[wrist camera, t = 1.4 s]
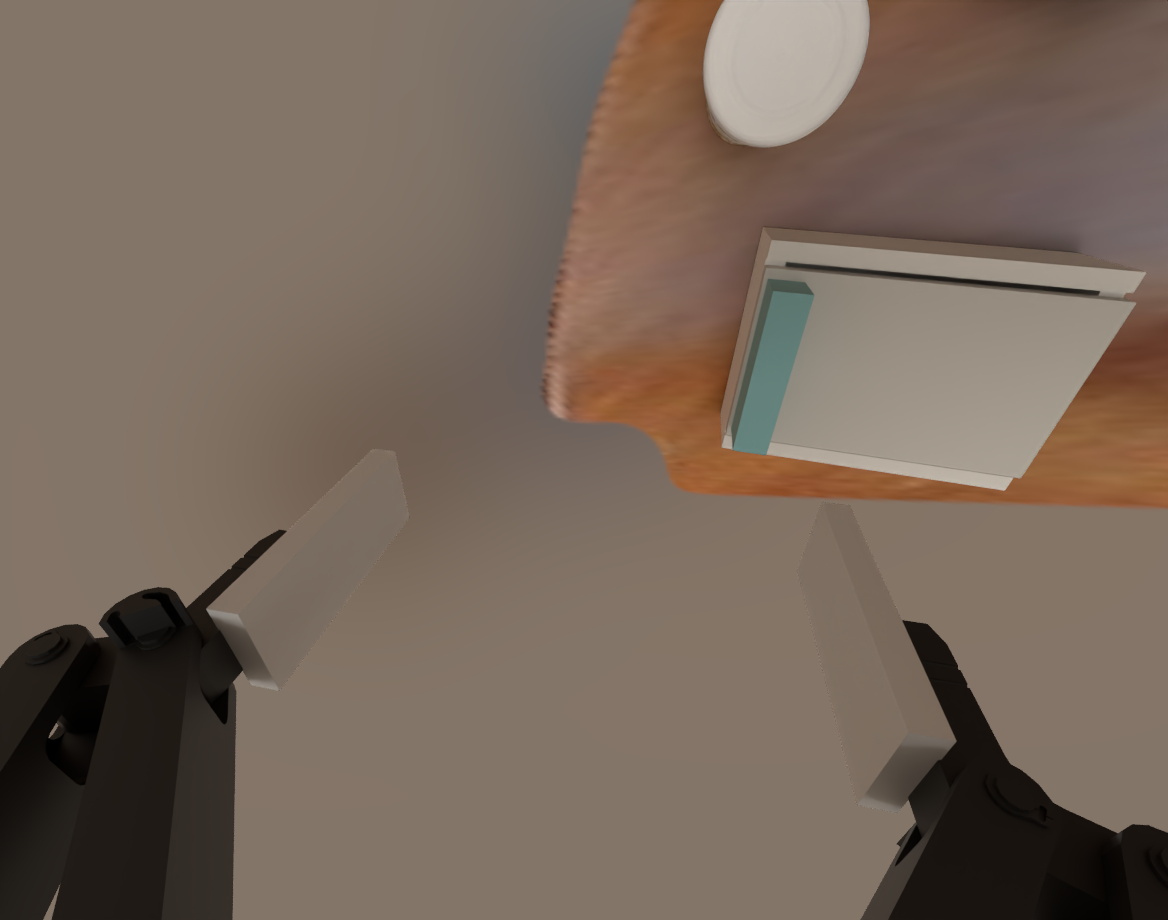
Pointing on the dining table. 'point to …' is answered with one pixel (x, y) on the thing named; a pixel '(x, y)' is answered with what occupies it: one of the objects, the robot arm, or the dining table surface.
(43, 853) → the robot arm
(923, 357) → the lid
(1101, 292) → the mailer box
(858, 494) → the dining table surface
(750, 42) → the sprinkles bottle
